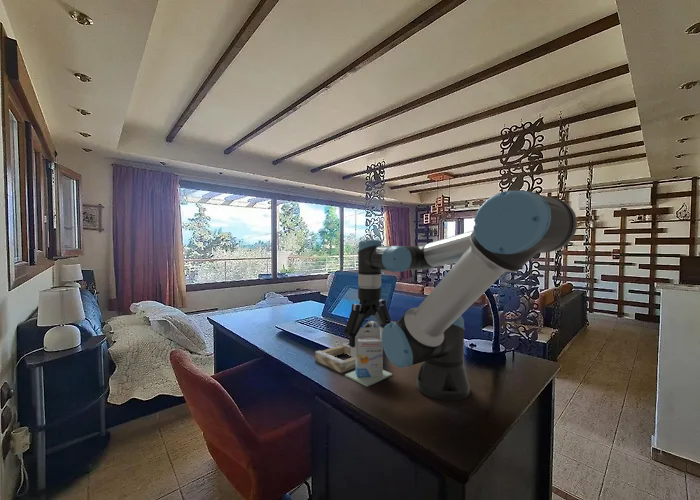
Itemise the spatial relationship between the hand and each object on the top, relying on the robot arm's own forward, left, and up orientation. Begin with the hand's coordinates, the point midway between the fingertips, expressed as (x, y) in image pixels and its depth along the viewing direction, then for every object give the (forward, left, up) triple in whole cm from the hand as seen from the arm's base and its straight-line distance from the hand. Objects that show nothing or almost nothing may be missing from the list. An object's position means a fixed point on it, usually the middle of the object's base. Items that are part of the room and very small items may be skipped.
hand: (369, 351), depth 99 cm
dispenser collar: (+15, -2, -8) cm, 17 cm away
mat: (0, 0, -8) cm, 8 cm away
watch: (+18, -21, -8) cm, 29 cm away
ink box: (0, 0, -8) cm, 8 cm away
